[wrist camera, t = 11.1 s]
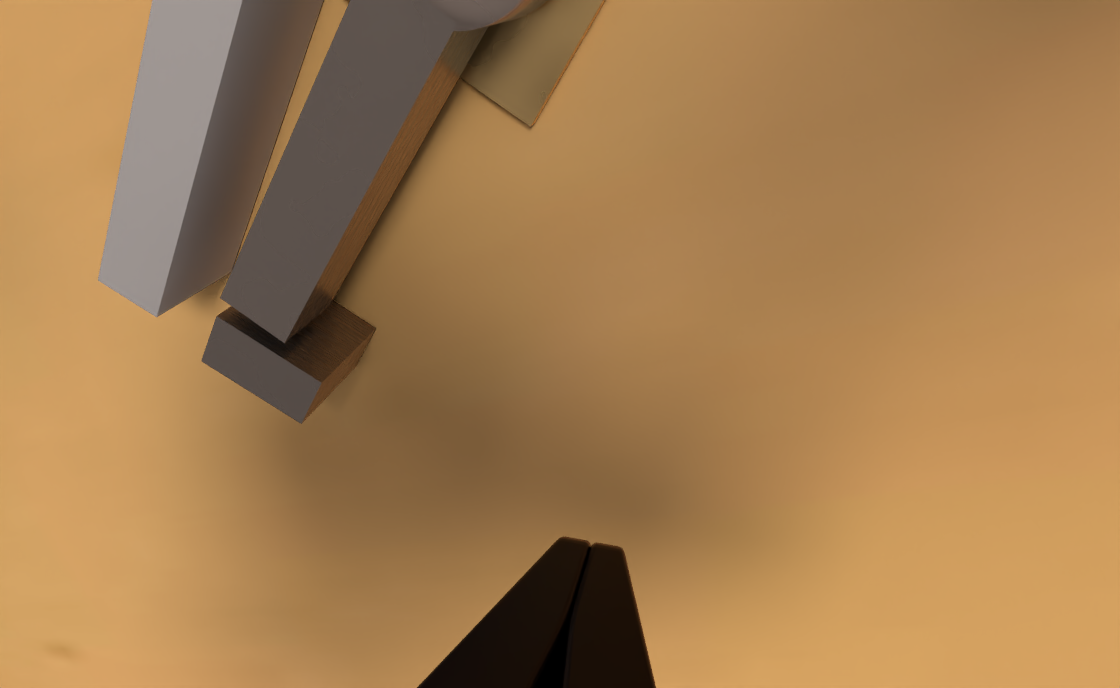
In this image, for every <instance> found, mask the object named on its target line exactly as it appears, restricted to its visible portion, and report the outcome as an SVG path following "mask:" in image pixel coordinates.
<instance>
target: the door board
mask: <svg viewBox="0 0 1120 688" xmlns="http://www.w3.org/2000/svg"><path fill="white" fill-rule="evenodd" d="M322 3H323V0H153V1H152V6H151V11H150V16H149V21H148V27H147V32H146V37H145V42H144V47H143V52H142V57H141V62H140V67H139V73H138V78H137V83H136V88H135V93H134V98H133V103H132V108H131V114H130V119H129V124H128V129H127V134H126V139H125V144H124V149H123V155H122V160H121V165H120V170H119V175H118V180H117V185H116V190H115V195H114V201H113V206H112V211H111V216H110V221H109V226H108V231H107V236H106V242H105V247H104V252H103V257H102V262H101V267H100V272H99V277H98V281H100V282H101V283H103V284H105V285H106V286H108V287H109V288H111V289H113V290H114V291H116V292H117V293H119V294H121V295H122V296H124V297H125V298H127V299H128V300H130V301H132V302H133V303H135V304H136V305H138V306H140V307H141V308H143V309H144V310H146V311H148V312H149V313H151V314H152V315H154V316H155V317H158V316H160V315H161V314H163V313H165V312H166V311H168V310H169V309H171V308H173V307H174V306H176V305H178V304H179V303H181V302H183V301H184V300H186V299H188V298H189V297H191V296H193V295H194V294H196V293H198V292H199V291H201V290H202V289H204V288H206V287H207V286H209V285H211V284H212V283H214V282H216V281H217V280H219V279H221V278H222V277H224V276H226V275H227V274H229V273H230V272H232V269H233V266H234V263H235V260H236V257H237V254H238V251H239V248H240V245H241V242H242V239H243V236H244V233H245V230H246V227H247V224H248V221H249V218H250V215H251V213H252V210H253V207H254V204H255V201H256V198H257V195H258V192H259V189H260V186H261V183H262V180H263V177H264V174H265V171H266V168H267V165H268V162H269V159H270V156H271V153H272V150H273V148H274V145H275V142H276V139H277V136H278V133H279V130H280V127H281V124H282V121H283V118H284V115H285V112H286V109H287V106H288V103H289V100H290V97H291V94H292V91H293V88H294V86H295V83H296V80H297V77H298V74H299V71H300V68H301V65H302V62H303V59H304V56H305V53H306V50H307V47H308V44H309V41H310V38H311V35H312V32H313V29H314V26H315V23H316V21H317V18H318V15H319V12H320V9H321V6H322Z"/></svg>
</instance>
